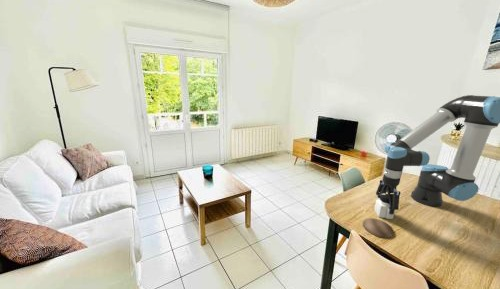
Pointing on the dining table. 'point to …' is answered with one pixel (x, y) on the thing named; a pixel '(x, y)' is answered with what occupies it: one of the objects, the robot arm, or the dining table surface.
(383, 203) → the medicine bottle
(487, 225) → the dining table surface
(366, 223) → the walnut coaster
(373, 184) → the dining table surface
